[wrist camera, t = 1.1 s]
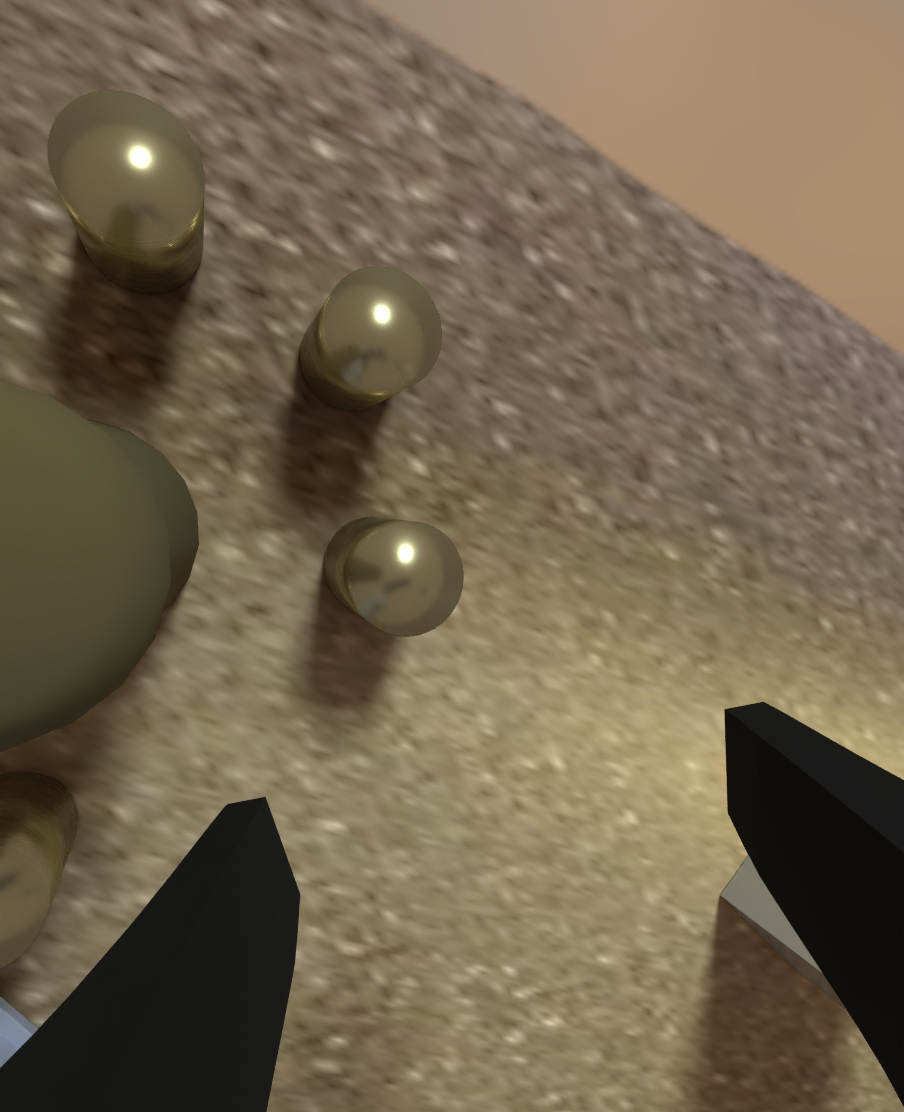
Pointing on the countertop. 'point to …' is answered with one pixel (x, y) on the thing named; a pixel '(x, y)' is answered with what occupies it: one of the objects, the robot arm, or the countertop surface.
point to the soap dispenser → (772, 924)
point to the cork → (80, 559)
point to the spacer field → (327, 365)
